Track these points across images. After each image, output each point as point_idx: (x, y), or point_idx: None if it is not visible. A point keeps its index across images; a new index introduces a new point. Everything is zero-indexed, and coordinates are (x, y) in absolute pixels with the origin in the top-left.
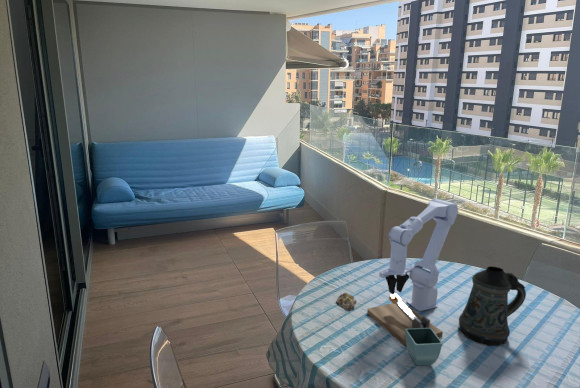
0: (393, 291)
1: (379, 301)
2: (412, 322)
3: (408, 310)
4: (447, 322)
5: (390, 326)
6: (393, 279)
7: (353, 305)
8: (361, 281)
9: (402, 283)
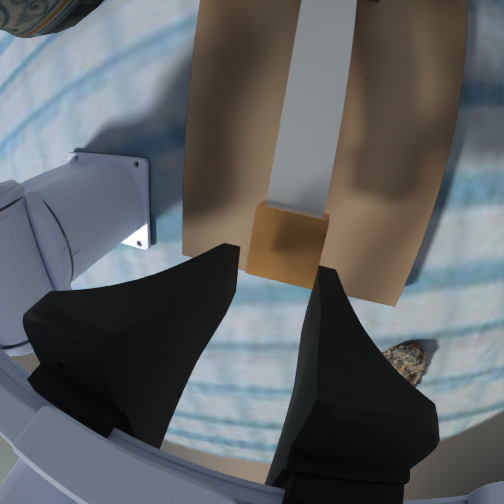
0: (334, 280)
1: (255, 319)
2: None
3: (307, 70)
4: (111, 39)
5: (445, 111)
6: (417, 437)
7: (404, 355)
8: (215, 411)
9: (185, 294)
